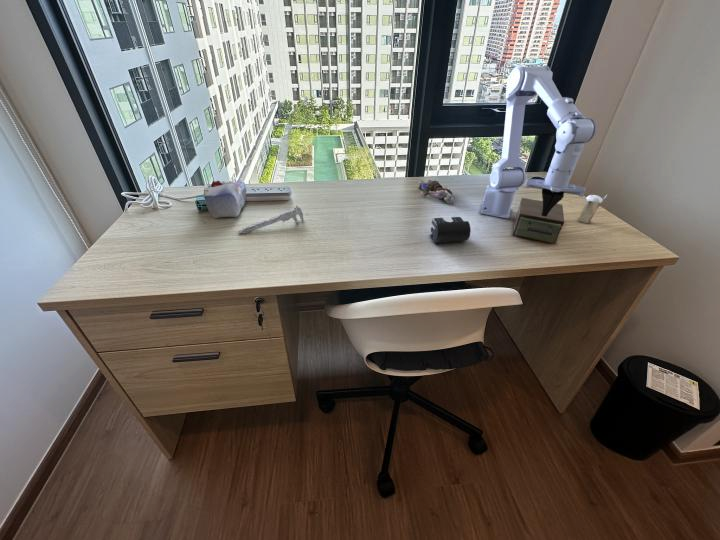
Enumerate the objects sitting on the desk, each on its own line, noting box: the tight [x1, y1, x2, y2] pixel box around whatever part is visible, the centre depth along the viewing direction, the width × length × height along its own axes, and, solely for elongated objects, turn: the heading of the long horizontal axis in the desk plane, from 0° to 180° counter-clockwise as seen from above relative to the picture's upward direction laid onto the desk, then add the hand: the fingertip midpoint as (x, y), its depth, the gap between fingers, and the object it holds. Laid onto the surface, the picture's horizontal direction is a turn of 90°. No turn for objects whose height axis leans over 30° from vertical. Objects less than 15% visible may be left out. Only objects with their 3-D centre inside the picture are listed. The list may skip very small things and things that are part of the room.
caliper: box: [238, 204, 304, 234], centre depth 104 cm, size 20×1×6 cm, turn 113°
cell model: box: [203, 180, 247, 219], centre depth 113 cm, size 13×11×20 cm
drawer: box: [515, 216, 561, 244], centre depth 101 cm, size 16×11×6 cm
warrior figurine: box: [418, 179, 454, 205], centre depth 126 cm, size 12×5×18 cm
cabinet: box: [512, 197, 565, 245], centre depth 104 cm, size 13×12×8 cm
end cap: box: [429, 216, 471, 244], centre depth 99 cm, size 10×7×7 cm
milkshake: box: [578, 193, 608, 224], centre depth 109 cm, size 5×5×10 cm
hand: (543, 214), depth 95 cm, fingers closed
